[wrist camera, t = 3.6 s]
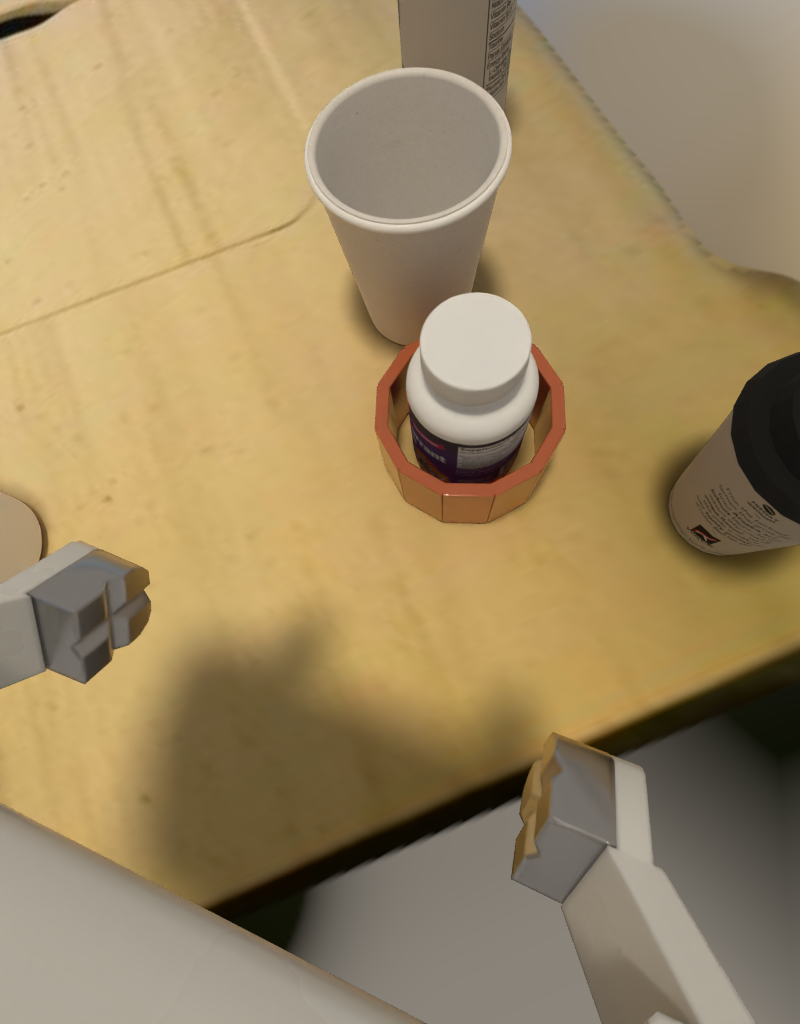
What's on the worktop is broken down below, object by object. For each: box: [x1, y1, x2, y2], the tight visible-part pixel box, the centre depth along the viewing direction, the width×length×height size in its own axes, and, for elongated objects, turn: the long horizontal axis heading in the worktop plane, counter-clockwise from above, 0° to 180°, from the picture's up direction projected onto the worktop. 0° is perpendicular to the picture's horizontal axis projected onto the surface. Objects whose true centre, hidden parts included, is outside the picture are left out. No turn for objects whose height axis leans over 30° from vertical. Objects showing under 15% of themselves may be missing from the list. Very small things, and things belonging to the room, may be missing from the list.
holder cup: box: [375, 339, 566, 523], centre depth 26 cm, size 8×8×4 cm
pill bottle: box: [406, 292, 539, 484], centre depth 24 cm, size 5×5×10 cm
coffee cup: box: [668, 352, 800, 556], centre depth 22 cm, size 7×7×10 cm
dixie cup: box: [304, 67, 512, 346], centre depth 26 cm, size 8×8×10 cm
